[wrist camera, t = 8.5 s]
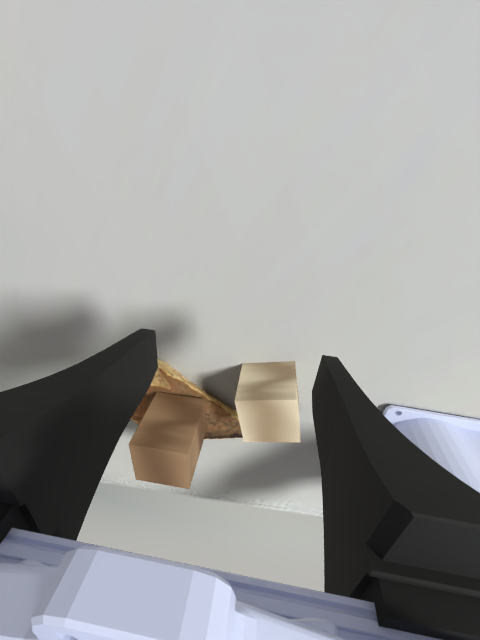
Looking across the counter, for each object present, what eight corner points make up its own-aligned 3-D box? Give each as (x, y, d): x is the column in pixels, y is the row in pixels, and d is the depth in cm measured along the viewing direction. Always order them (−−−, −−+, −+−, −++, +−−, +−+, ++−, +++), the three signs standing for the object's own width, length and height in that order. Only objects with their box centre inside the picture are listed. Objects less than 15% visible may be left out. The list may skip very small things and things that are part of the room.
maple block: (295, 360, 25) (296, 399, 21) (298, 400, 27) (300, 442, 23) (242, 362, 25) (234, 400, 22) (249, 401, 28) (243, 441, 24)
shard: (268, 423, 30) (267, 441, 28) (215, 460, 34) (211, 478, 32) (160, 348, 27) (151, 363, 25) (117, 399, 31) (106, 415, 29)
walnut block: (205, 399, 26) (187, 454, 21) (205, 432, 28) (189, 488, 24) (156, 391, 26) (128, 444, 22) (160, 425, 29) (136, 479, 24)
